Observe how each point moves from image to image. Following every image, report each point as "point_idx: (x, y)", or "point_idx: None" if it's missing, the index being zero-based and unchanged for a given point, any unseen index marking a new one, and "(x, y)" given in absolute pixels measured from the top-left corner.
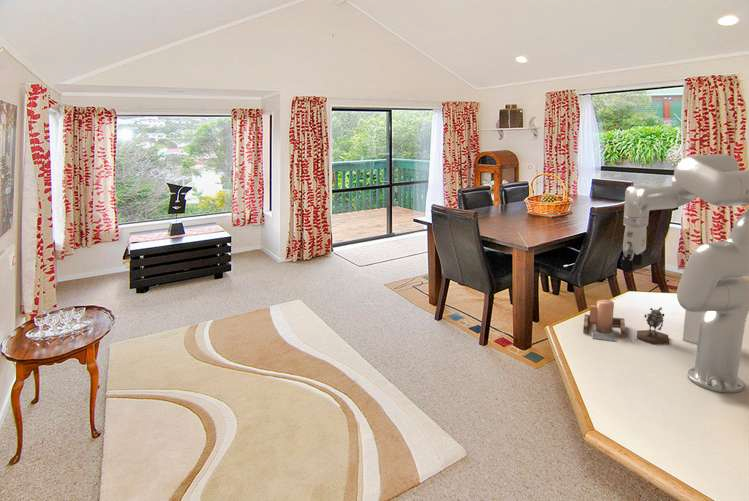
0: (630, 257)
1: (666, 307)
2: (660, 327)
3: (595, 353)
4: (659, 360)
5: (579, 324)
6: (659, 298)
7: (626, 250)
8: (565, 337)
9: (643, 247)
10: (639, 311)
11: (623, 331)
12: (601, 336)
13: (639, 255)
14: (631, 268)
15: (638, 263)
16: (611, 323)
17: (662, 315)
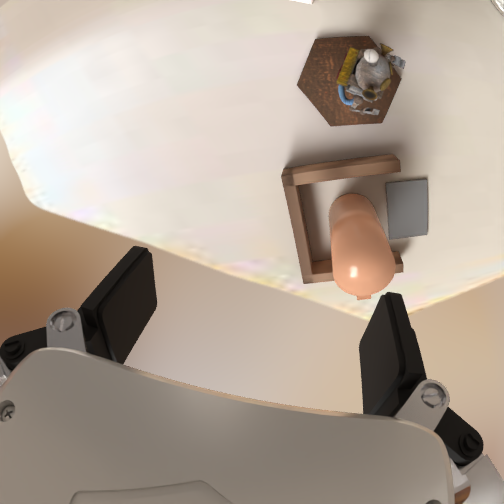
0: (438, 419)
1: (69, 104)
2: (394, 58)
3: (500, 216)
4: (488, 73)
5: None
6: (29, 140)
7: (501, 499)
8: (434, 288)
9: (143, 444)
10: (134, 152)
11: (399, 166)
12: (409, 215)
13: (108, 322)
14: (404, 313)
15: (147, 271)
16: (367, 207)
17: (392, 50)
